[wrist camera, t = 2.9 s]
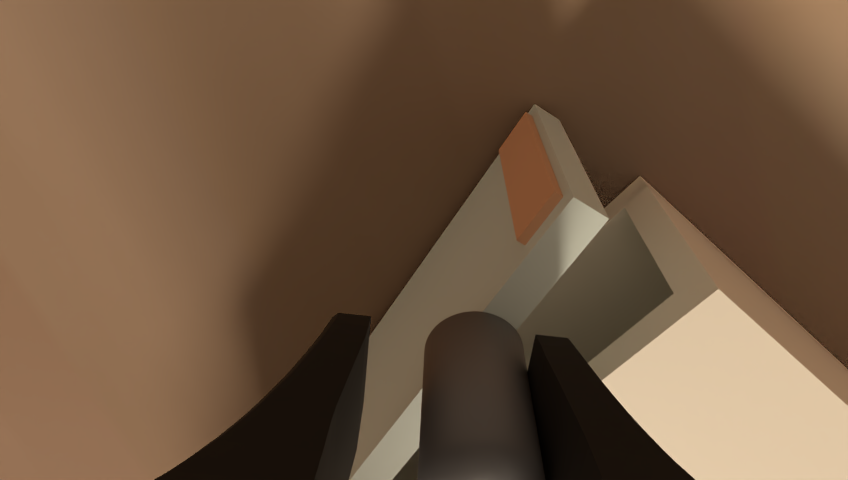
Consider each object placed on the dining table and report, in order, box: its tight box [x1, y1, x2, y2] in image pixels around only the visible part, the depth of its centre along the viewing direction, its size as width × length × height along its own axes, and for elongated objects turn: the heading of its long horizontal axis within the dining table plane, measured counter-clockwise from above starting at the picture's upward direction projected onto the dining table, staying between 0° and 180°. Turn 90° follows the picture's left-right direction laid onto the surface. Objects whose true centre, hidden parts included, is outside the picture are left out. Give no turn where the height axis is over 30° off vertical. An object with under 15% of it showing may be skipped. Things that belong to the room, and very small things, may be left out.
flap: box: [349, 104, 609, 480], centre depth 16 cm, size 16×2×10 cm, turn 148°
